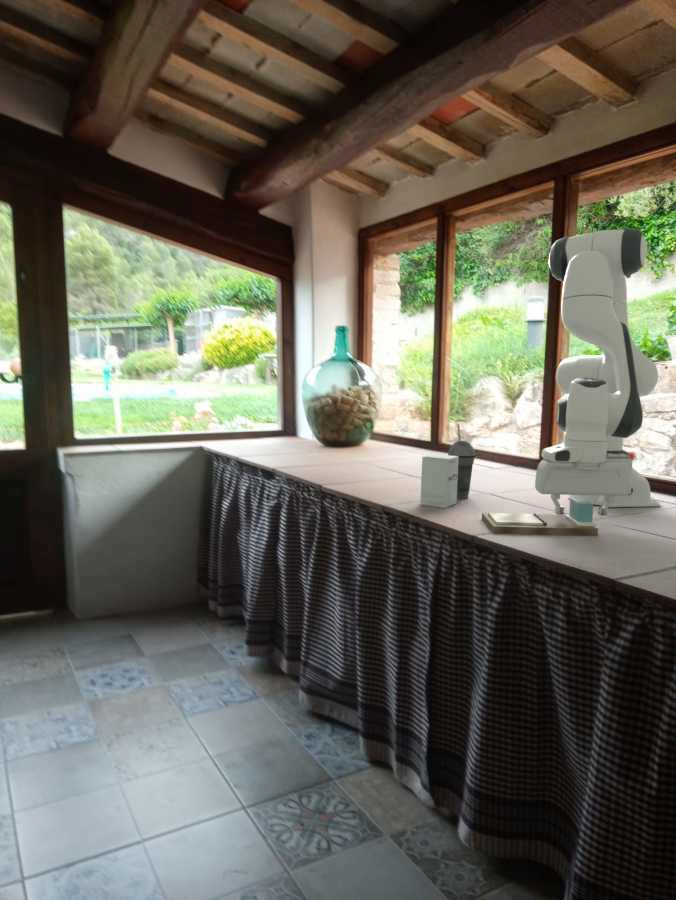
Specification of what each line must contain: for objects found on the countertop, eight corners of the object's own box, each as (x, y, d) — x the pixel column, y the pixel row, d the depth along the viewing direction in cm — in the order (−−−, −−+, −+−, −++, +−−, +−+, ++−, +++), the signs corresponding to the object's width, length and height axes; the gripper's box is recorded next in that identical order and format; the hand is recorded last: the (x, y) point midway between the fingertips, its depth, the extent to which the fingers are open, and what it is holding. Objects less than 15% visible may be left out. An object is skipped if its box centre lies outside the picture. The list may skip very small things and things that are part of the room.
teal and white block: (582, 517, 147) (583, 497, 147) (596, 526, 138) (598, 505, 138) (564, 516, 147) (566, 497, 147) (578, 525, 139) (579, 505, 138)
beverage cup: (473, 500, 172) (476, 426, 169) (445, 499, 173) (448, 425, 171) (473, 495, 179) (476, 423, 176) (446, 494, 180) (449, 422, 178)
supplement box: (446, 508, 161) (448, 458, 160) (419, 505, 165) (421, 456, 164) (457, 503, 167) (459, 455, 166) (431, 500, 171) (432, 453, 170)
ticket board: (576, 521, 150) (577, 512, 149) (597, 535, 137) (598, 526, 136) (481, 519, 150) (482, 510, 150) (493, 533, 137) (493, 523, 137)
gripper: (626, 451, 144) (622, 512, 146) (534, 449, 144) (531, 510, 146) (639, 455, 138) (634, 518, 139) (542, 453, 138) (539, 516, 140)
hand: (580, 514), depth 143 cm, fingers open, 8 cm apart
